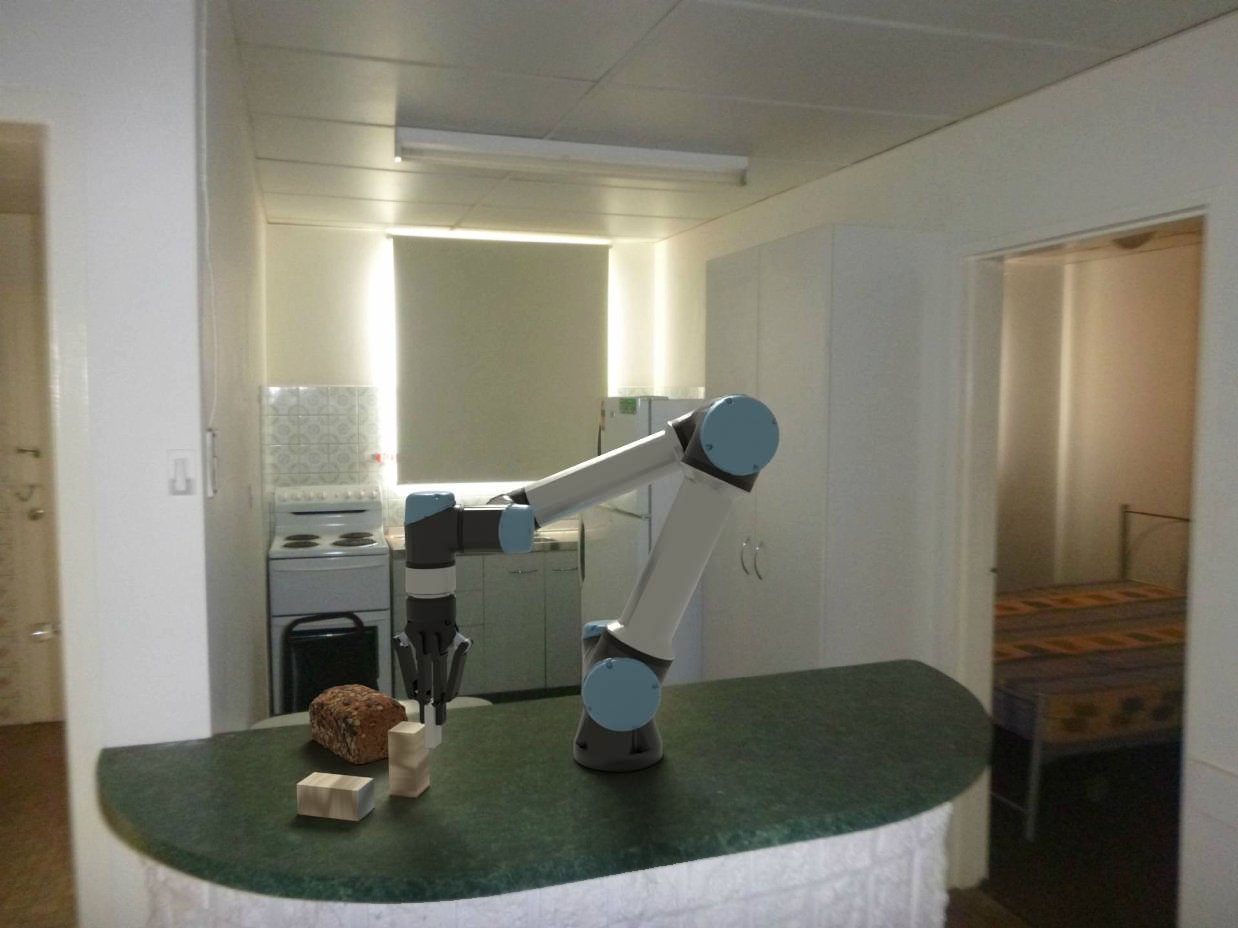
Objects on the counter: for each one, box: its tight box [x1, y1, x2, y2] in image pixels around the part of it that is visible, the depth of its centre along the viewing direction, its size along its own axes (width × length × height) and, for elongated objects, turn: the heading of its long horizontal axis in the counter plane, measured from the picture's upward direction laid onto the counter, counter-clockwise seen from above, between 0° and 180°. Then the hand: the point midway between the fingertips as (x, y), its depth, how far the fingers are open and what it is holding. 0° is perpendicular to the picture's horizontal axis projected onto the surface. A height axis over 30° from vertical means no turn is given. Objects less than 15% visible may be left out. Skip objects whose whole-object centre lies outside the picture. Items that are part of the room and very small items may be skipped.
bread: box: [308, 683, 409, 765], centre depth 158 cm, size 19×11×10 cm, turn 41°
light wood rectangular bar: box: [296, 771, 375, 822], centre depth 132 cm, size 4×4×10 cm
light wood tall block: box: [388, 721, 431, 799], centre depth 139 cm, size 4×4×10 cm
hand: (433, 744), depth 138 cm, fingers closed
